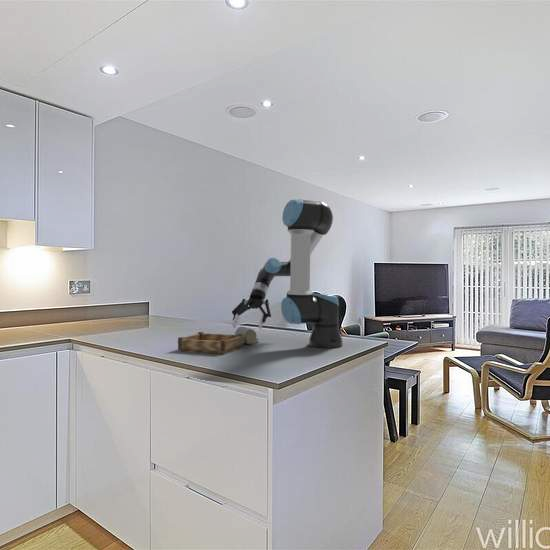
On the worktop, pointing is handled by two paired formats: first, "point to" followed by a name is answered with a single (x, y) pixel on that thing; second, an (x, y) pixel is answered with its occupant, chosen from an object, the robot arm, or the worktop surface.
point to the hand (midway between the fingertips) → (246, 326)
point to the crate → (210, 343)
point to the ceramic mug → (247, 335)
